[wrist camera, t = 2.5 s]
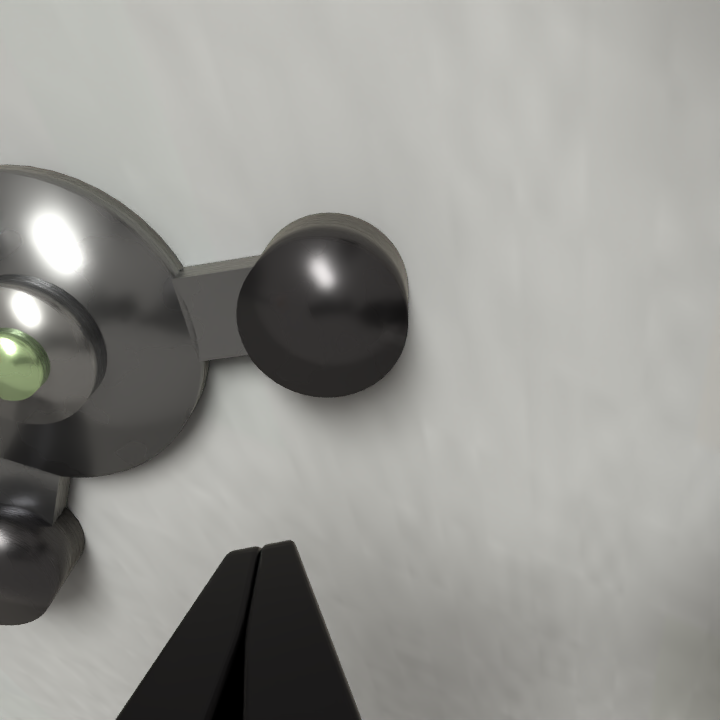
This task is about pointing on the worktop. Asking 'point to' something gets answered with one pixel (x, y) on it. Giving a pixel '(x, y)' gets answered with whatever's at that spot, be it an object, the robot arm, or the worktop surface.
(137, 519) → the worktop surface
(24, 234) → the tribrach
